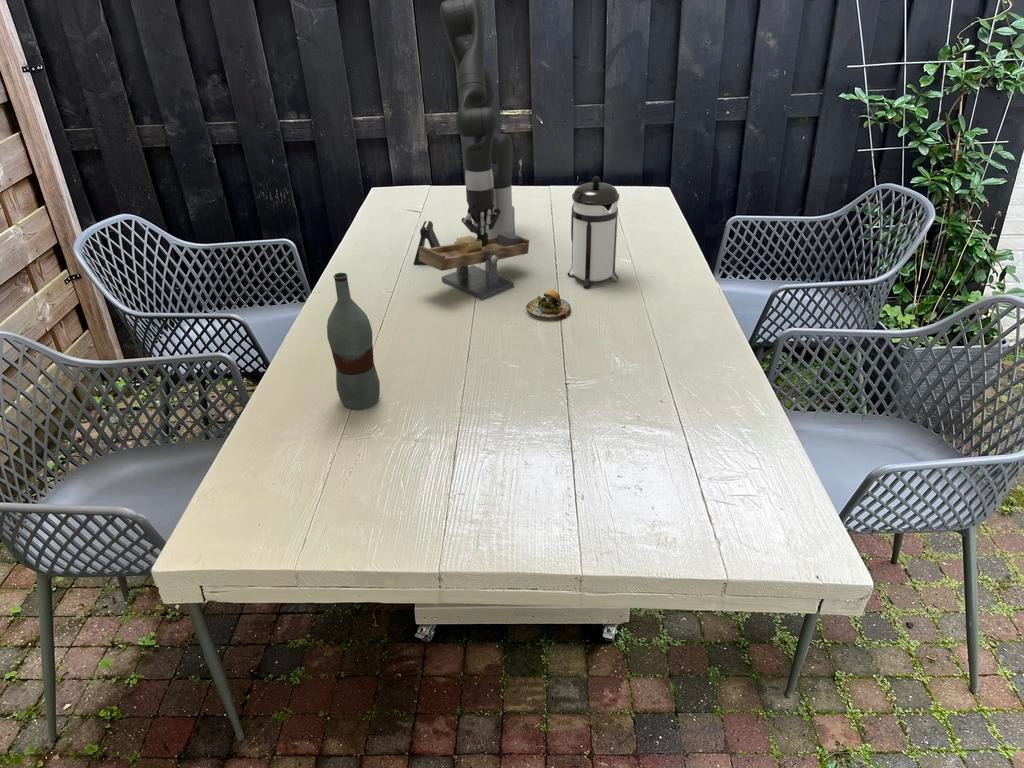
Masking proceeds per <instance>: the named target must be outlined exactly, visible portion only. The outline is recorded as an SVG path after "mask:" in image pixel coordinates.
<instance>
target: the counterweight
mask: <svg viewBox="0 0 1024 768" xmlns="http://www.w3.org/2000/svg"><path fill="white" fill-rule="evenodd" d="M522 238H523V237H522V236H519V235H516V234H515V235H514V234H511V233H509V232H506V233H500V234H498V236H497V244H498V245H501V246H504V247H506V246H511V245H517V244H521V239H522Z"/></svg>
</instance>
